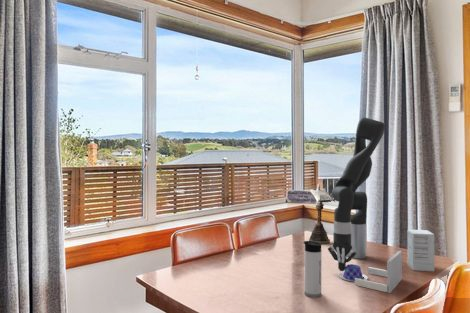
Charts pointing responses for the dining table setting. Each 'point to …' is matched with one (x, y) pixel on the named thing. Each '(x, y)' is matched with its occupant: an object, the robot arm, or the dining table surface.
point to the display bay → (385, 275)
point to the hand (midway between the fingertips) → (342, 270)
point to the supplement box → (421, 250)
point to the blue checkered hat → (352, 273)
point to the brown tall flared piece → (319, 231)
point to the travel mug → (312, 268)
